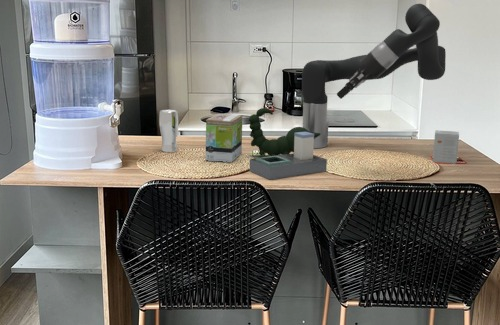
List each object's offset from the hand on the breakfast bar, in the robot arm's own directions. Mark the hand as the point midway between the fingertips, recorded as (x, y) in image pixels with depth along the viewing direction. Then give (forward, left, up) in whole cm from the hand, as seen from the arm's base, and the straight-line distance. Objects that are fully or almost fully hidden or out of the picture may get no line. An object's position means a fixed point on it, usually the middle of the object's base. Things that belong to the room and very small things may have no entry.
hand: (340, 95), depth 175 cm
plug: (+9, -6, -25) cm, 27 cm away
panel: (+15, -6, -25) cm, 30 cm away
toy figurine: (+5, -23, -25) cm, 34 cm away
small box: (-42, +9, -25) cm, 49 cm away
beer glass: (+37, -52, -25) cm, 69 cm away
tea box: (+24, -33, -25) cm, 48 cm away
